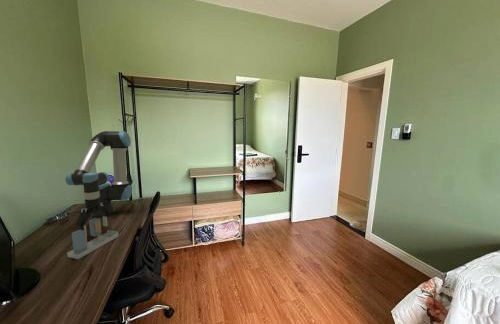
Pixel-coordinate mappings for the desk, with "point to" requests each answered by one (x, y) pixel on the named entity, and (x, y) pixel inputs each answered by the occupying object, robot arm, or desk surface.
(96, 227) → the grey orange block
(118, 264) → the desk surface
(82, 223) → the robot arm
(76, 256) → the rail
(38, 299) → the desk surface
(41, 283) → the desk surface
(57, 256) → the desk surface
